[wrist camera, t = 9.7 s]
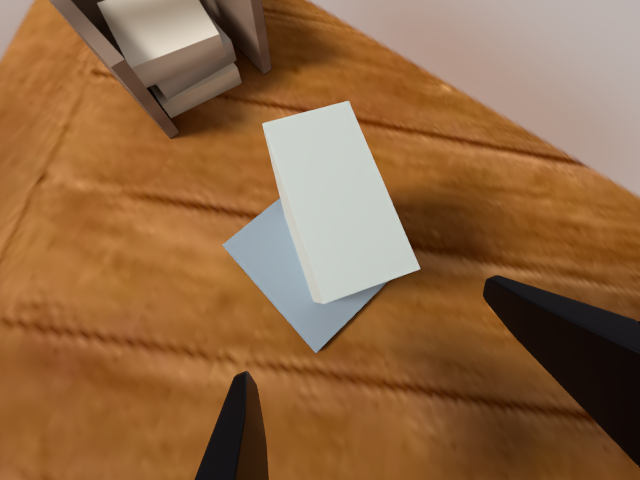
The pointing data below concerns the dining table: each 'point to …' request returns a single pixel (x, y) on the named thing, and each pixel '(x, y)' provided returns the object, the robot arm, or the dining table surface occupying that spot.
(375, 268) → the pale grey rectangular block
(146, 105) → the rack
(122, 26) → the offcut stack
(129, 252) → the dining table surface
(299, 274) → the mat
